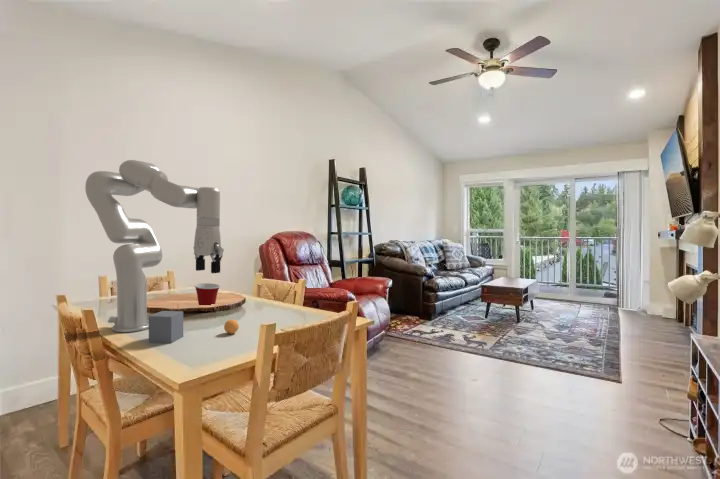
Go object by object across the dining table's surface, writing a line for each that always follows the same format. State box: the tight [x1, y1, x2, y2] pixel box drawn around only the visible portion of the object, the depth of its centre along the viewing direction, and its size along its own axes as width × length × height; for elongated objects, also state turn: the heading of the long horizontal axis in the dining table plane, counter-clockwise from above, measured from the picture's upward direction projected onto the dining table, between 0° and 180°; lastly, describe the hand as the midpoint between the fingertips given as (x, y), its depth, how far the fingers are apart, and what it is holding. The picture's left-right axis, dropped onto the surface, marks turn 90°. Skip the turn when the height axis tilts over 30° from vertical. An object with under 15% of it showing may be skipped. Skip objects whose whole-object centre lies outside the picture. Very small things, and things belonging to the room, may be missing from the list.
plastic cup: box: [194, 282, 221, 306], centre depth 172 cm, size 11×11×12 cm
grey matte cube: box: [148, 310, 184, 344], centre depth 130 cm, size 8×8×9 cm
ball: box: [223, 319, 240, 335], centre depth 138 cm, size 5×5×5 cm
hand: (207, 271), depth 134 cm, fingers open, 9 cm apart
